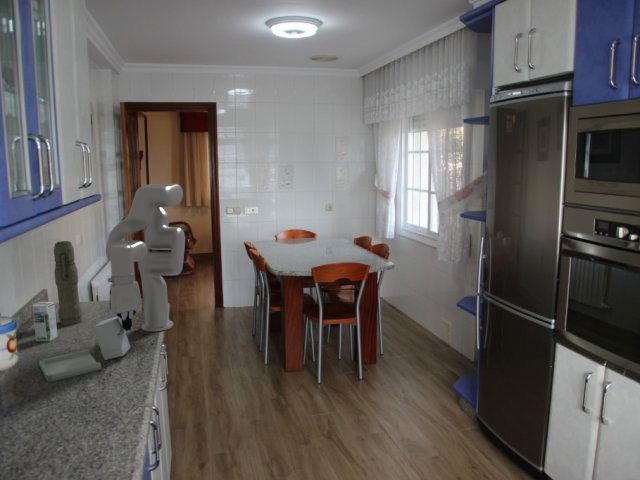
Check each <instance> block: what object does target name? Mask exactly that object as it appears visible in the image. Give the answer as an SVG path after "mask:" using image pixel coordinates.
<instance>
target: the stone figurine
mask: <svg viewBox="0 0 640 480" xmlns="http://www.w3.org/2000/svg"><path fill="white" fill-rule="evenodd" d="M53 247H54V248H53V255H54V256H53V257H54V262H55V264H54V273H53V274H54V281H55V282H54V283H55V285H56V289H57V297H58V298H57V299H58V312H57V313H58V319H59V324H60V325H61V326H65V325H66V326H74V325H77V324H81V323H82V322H83V319H82V316H83V314H82V307H81V305H80V296H79V286H78V283H79V275H78V274H79V273H78V268H77V266H76V262H75V259H76V258H75V250H74V246H73V244H72V242H71V241H69V240H64V241H57V242H55V244H54V246H53ZM81 321H82V322H81Z"/></svg>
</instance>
